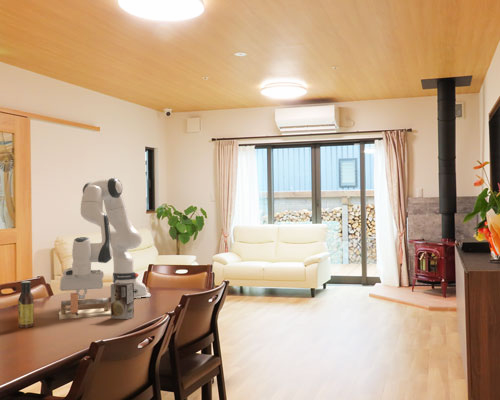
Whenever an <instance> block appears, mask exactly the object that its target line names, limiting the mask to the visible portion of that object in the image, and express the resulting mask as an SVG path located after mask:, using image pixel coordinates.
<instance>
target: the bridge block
mask: <svg viewBox="0 0 500 400" xmlns="http://www.w3.org/2000/svg"><path fill="white" fill-rule="evenodd" d="M70 300H71V305H70V311H71V313H76V312H78V310H79V305H78V300H79V296H78V294H77V292H71V293H70Z"/></svg>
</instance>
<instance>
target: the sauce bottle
mask: <svg viewBox="0 0 500 400" xmlns="http://www.w3.org/2000/svg"><path fill="white" fill-rule="evenodd" d="M31 286H32V281H31V280H30V281H29V280H23V281H21V282H20V287H21V289H20V290H21V291H20V295H19V297H18V300H17V301H18V302H17V303H18V304H17V305H18V307H17V308H18V309H17V312H18V320H17V321H18V327H19V328H21V329H26V328H28V329H29V328H31V327H34V325H35V324H34V322H35V314H34V313H35V307H34V306H35V303H34V295H33V294H32V292H31V291H32V290H31V289H32V288H31Z"/></svg>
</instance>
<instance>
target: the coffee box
mask: <svg viewBox="0 0 500 400" xmlns="http://www.w3.org/2000/svg"><path fill="white" fill-rule="evenodd" d="M110 311H111V315H110V319H116V320H117V319H119V320H129V319H132V318H135V299H134V283H114V284H113V283H111V284H110Z"/></svg>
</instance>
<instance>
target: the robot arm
mask: <svg viewBox="0 0 500 400" xmlns="http://www.w3.org/2000/svg"><path fill="white" fill-rule="evenodd" d="M122 193H123V185H122V182H121V181H120V180H119V179H117V178H115V177H114V178H103V179H98V180H95V181H89V182H87V183H86V184H84V185H83V188H82V197H81V202H80V215H81V217H82V218H83V219H84V220H85V221H87V222H89V223H90V224H94V225H96V226H98V227H100V232H101V242H97V243H96V242H95V243H93V242H91V239H90V238H89V237H84V236H82V237H81V236H80V237H76V238H75V239H74V240H73V242H72V243H73V244H72V249H71V250H72V252H71V254H72V255H71V256H72V263H71V265H72V266H71V267H69V268H67V269H64V270H62V275H61V278H60V281H59V290H60V291H62V292H63V291H76V292H75V293H77V294H78V300H85V298H86V295H87V293H88V290H100V289H103V287H104V283H103V282H104V281H103V278H104V271H102V270H101V269H96V270H95V269H92V263H101V264H107V263H108V262H110V261H111V260H113V273H112V284H114V283H134V298H136V299H142V298H141V297H146V298H150V297H151V296H152V295H151V293H150V292H148V290H147V287H146V285H145V283H143V281H141V280H139V279H138V277H139V273H137V272H134V258H133V257H132V255H131V252H130V251H129V250H133V249H136V248H139V246H140V245H141V244H142V241H143V240H142V239H143V238H142V235H141V233H140V232H139V231H138V230H137V229H136V228H135V227H134V225H133V223H132V222H131V220H130V218H129V215H128V212H127V209H126V204H125V201H124V199H123V195H122ZM103 207H104V210H105V213H104V211H103ZM110 225H111V226H112V227H113V229H112V230H111V229H110ZM112 258H113V259H112ZM81 290H82V291H83V294H80V291H81Z"/></svg>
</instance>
